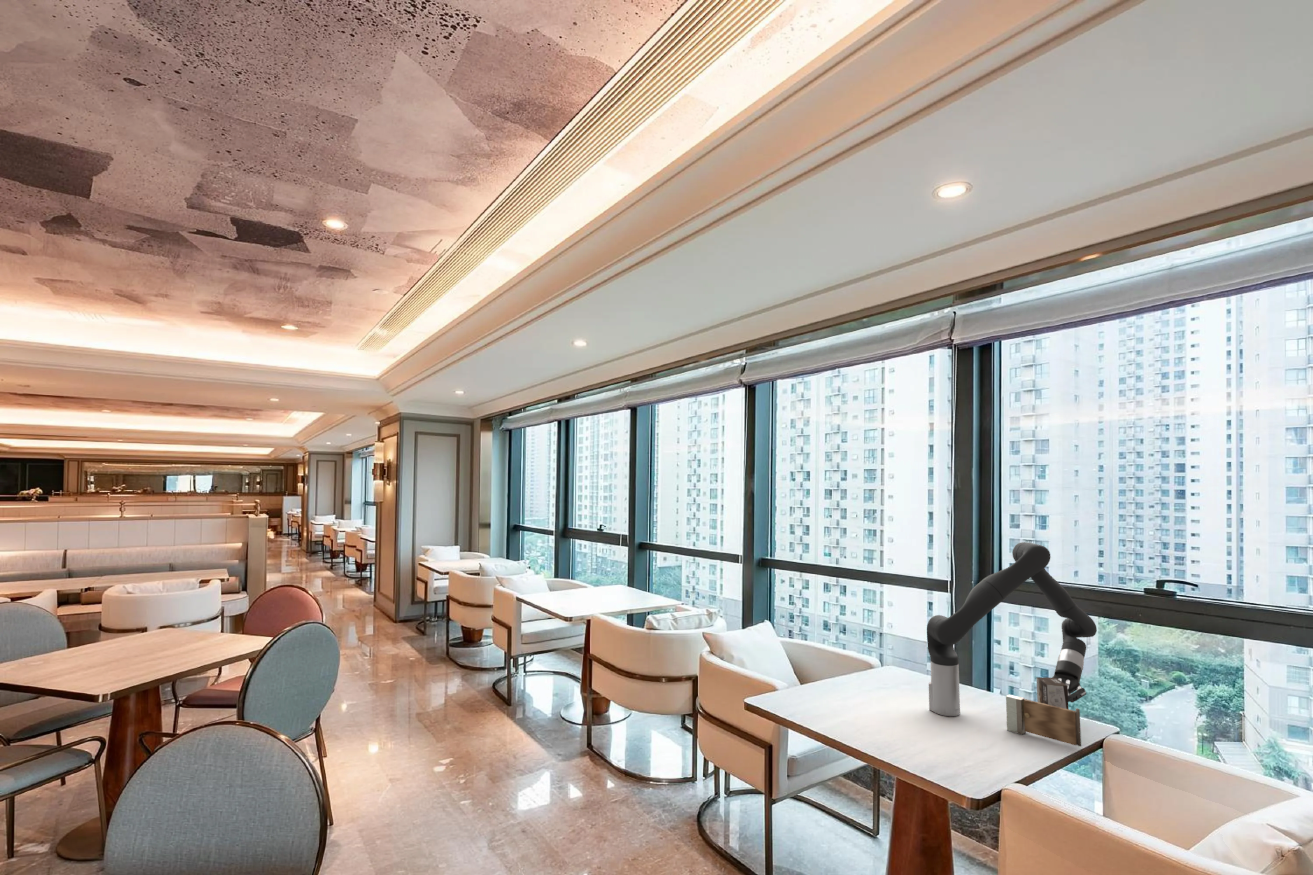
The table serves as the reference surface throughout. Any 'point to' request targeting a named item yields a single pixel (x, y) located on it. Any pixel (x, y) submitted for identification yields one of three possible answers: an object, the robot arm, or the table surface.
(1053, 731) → the wooden slab
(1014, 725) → the grey tall block
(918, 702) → the table surface
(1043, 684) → the coffee box
